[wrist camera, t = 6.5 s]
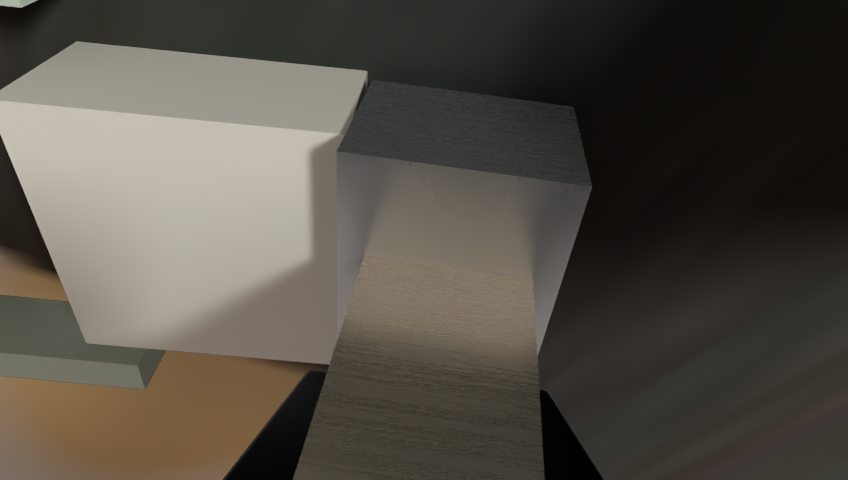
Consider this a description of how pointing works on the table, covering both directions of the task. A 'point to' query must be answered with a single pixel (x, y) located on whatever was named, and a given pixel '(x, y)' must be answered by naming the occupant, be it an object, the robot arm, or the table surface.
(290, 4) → the table surface
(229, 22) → the table surface
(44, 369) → the bay
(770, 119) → the table surface
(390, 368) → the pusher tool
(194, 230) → the tile
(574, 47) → the table surface
